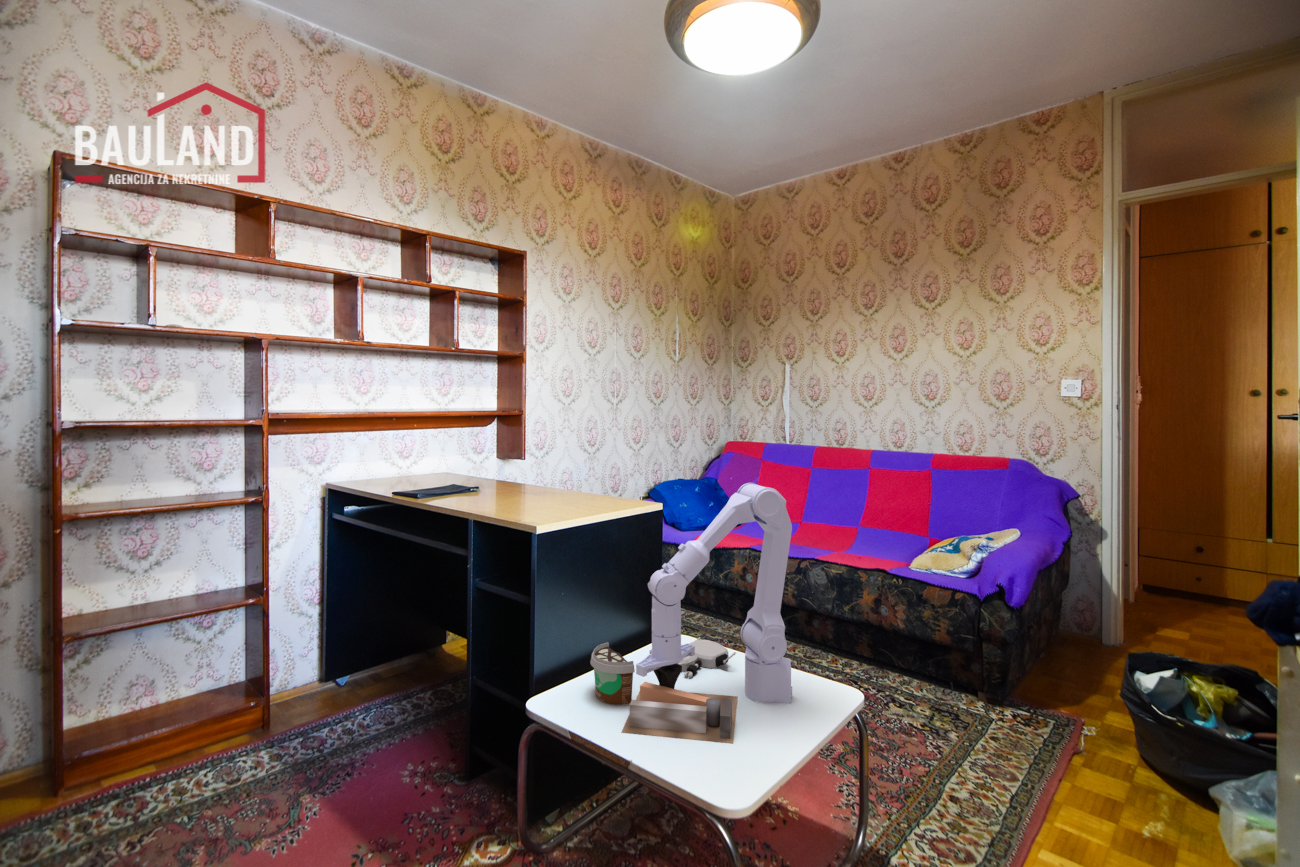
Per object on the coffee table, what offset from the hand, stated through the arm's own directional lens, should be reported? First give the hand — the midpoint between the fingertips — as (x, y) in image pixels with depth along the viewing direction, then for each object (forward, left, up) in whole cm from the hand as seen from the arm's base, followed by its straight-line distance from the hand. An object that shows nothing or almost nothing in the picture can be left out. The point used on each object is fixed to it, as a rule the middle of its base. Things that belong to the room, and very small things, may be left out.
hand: (666, 700), depth 120 cm
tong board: (-3, +3, -2) cm, 5 cm away
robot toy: (-3, -22, -3) cm, 22 cm away
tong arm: (-3, +3, -1) cm, 4 cm away
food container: (+13, -2, -2) cm, 13 cm away
